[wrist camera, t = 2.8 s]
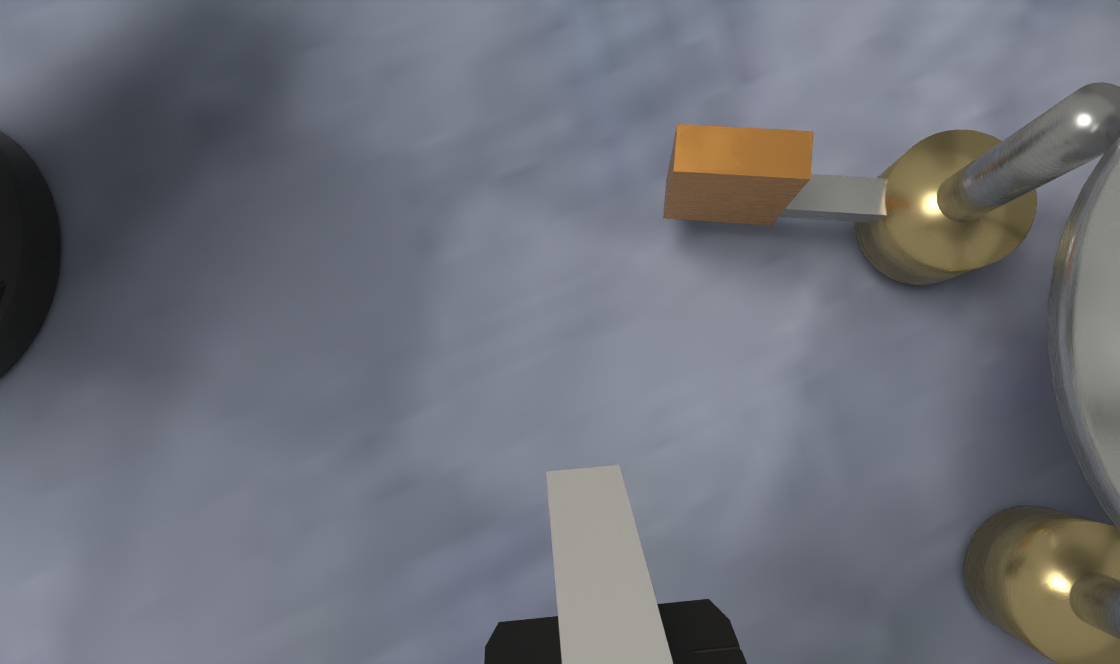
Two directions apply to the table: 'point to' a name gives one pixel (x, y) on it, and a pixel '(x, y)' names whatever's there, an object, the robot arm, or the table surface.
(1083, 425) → the tribrach stand
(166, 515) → the table surface
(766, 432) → the table surface
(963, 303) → the table surface
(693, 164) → the lever
